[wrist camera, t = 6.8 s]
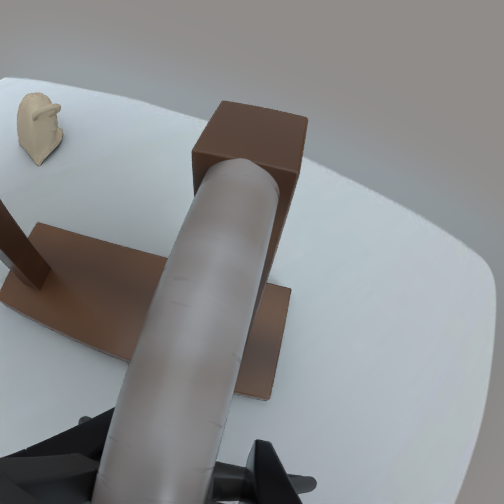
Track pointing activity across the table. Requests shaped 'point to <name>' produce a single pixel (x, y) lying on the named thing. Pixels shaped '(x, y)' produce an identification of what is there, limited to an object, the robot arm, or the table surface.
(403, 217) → the table surface
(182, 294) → the rack
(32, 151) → the decorative ornament
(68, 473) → the hanger
